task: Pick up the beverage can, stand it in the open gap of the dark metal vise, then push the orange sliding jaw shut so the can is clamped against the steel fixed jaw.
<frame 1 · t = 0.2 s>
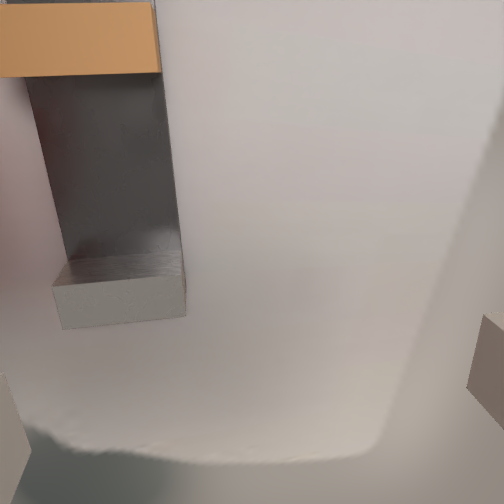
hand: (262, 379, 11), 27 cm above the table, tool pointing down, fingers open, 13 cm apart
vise: (111, 158, 35), on the table
sliding jaw: (81, 42, 28), point 4 cm above the table, slide at 0.0 cm
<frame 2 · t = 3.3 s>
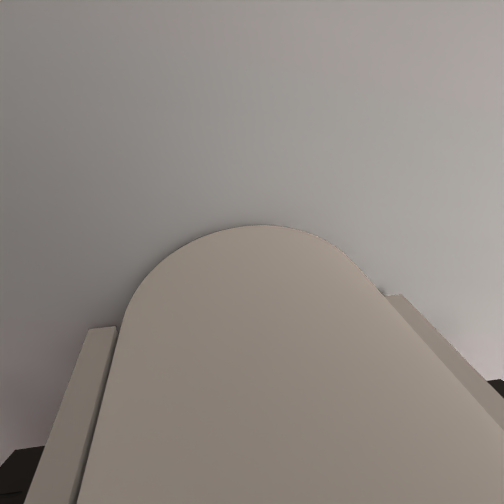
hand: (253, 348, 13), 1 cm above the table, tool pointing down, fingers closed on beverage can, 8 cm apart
beverage can: (249, 329, 14), on the table, touching gripper
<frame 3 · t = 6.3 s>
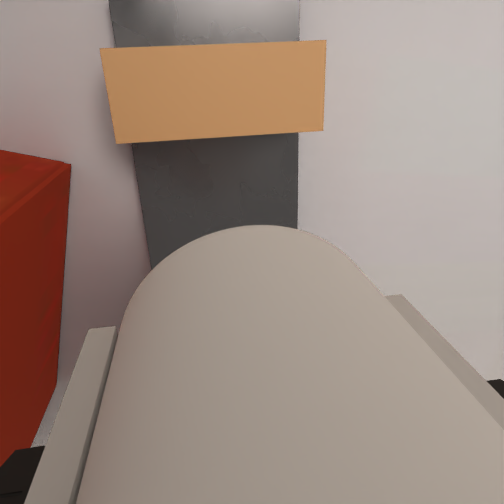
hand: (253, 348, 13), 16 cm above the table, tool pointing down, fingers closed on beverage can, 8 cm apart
beverage can: (249, 330, 14), point 15 cm above the table, touching gripper
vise: (221, 219, 28), on the table
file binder: (0, 275, 27), on the table
sliding jaw: (216, 89, 21), point 4 cm above the table, slide at 0.0 cm
when the fingers open (3 cm above the table, at t = 9.4 s): beverage can drops 1 cm, resting on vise.
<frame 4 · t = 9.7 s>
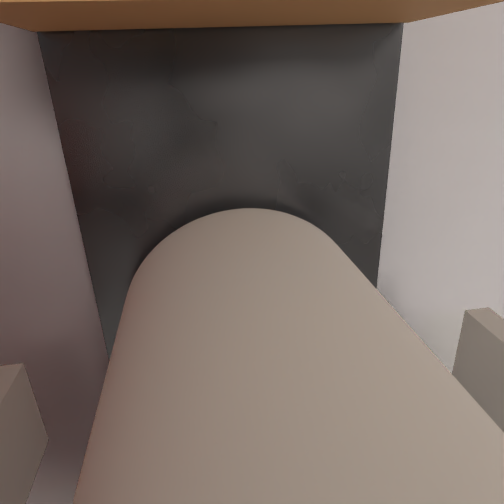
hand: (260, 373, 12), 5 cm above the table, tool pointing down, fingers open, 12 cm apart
beverage can: (242, 306, 15), point 1 cm above the table, touching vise
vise: (237, 234, 15), on the table
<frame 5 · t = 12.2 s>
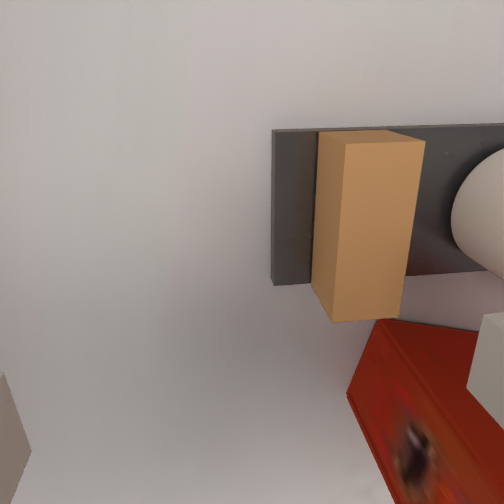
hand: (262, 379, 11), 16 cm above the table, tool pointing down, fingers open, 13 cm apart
beverage can: (500, 203, 27), point 1 cm above the table, touching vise
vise: (457, 199, 28), on the table
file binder: (452, 368, 34), on the table
sliding jaw: (359, 224, 24), point 4 cm above the table, slide at 0.0 cm
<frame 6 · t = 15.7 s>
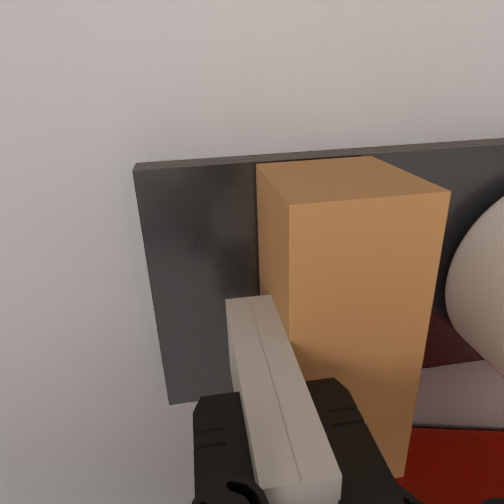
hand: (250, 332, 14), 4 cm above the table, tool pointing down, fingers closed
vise: (454, 256, 18), on the table
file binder: (451, 474, 25), on the table
sliding jaw: (330, 322, 14), point 4 cm above the table, slide at 1.5 cm, touching gripper
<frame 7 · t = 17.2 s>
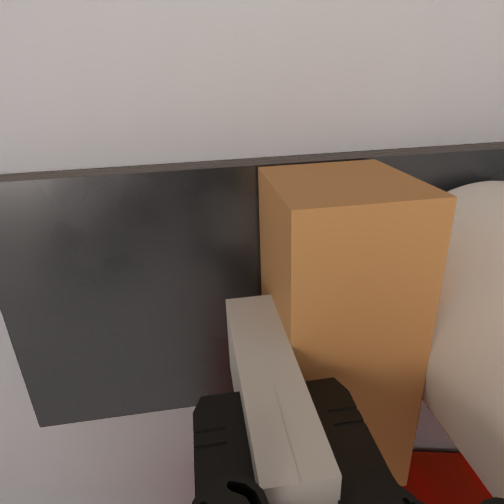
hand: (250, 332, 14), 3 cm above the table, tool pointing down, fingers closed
beverage can: (452, 272, 17), point 1 cm above the table, touching sliding jaw, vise
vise: (345, 272, 17), on the table
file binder: (372, 494, 24), on the table
sliding jaw: (333, 328, 13), point 4 cm above the table, slide at 6.7 cm, touching beverage can, gripper
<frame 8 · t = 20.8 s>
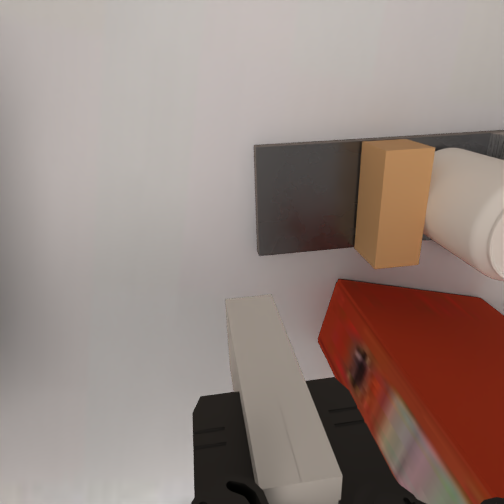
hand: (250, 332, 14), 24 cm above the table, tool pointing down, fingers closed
beverage can: (437, 189, 39), point 1 cm above the table, touching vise
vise: (390, 190, 39), on the table
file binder: (397, 318, 46), on the table
sliding jaw: (390, 203, 35), point 4 cm above the table, slide at 6.7 cm
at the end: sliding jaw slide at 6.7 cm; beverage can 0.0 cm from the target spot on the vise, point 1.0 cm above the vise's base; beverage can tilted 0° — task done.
